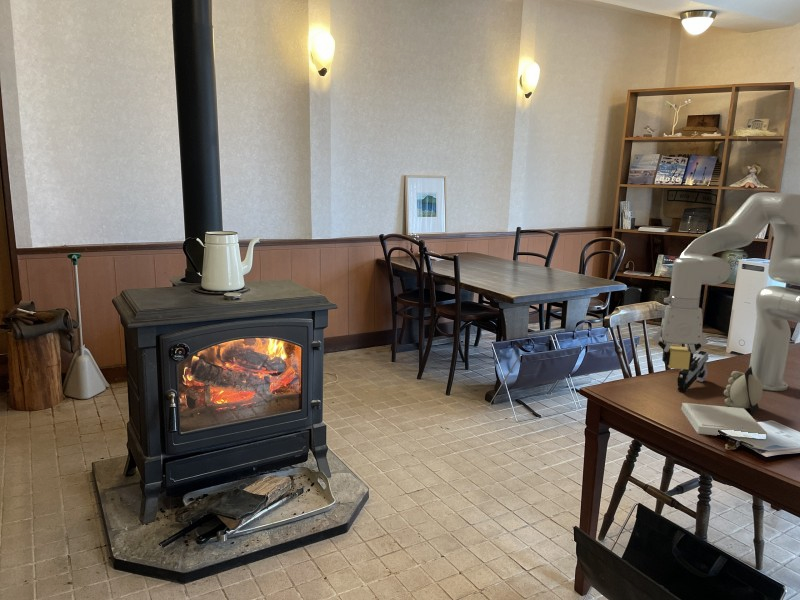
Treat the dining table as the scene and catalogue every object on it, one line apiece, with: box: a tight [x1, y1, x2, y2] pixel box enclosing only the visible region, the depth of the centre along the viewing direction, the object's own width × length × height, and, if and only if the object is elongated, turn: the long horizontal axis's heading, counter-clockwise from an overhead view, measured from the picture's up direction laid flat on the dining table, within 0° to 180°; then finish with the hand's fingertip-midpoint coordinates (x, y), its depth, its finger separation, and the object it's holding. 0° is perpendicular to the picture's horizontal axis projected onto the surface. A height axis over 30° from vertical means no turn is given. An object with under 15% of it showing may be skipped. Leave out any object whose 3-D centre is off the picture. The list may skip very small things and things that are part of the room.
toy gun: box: [677, 349, 709, 393], centre depth 187 cm, size 2×18×11 cm, turn 133°
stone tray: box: [681, 402, 768, 436], centre depth 159 cm, size 16×16×2 cm
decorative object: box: [723, 367, 764, 417], centre depth 169 cm, size 12×10×10 cm
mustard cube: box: [667, 345, 691, 370], centre depth 170 cm, size 5×5×5 cm
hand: (676, 364), depth 170 cm, fingers closed on mustard cube, 5 cm apart
